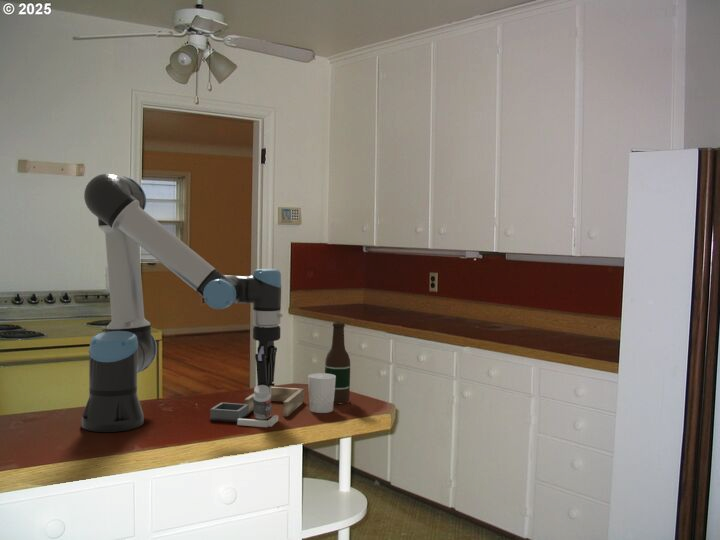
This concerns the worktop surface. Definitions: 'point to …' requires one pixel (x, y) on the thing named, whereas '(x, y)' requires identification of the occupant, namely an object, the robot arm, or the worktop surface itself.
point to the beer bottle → (339, 364)
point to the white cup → (321, 392)
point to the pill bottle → (262, 402)
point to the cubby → (282, 399)
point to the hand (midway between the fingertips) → (265, 410)
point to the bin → (229, 412)
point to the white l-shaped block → (258, 422)
